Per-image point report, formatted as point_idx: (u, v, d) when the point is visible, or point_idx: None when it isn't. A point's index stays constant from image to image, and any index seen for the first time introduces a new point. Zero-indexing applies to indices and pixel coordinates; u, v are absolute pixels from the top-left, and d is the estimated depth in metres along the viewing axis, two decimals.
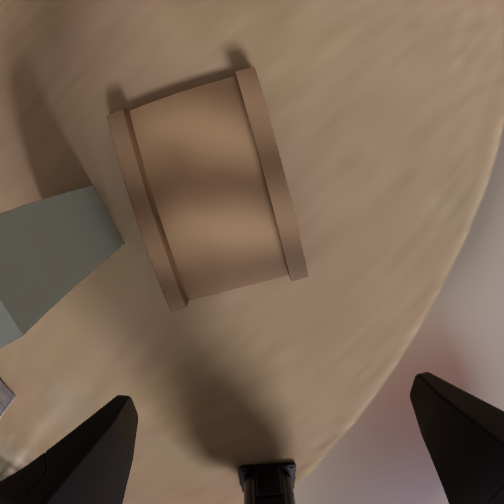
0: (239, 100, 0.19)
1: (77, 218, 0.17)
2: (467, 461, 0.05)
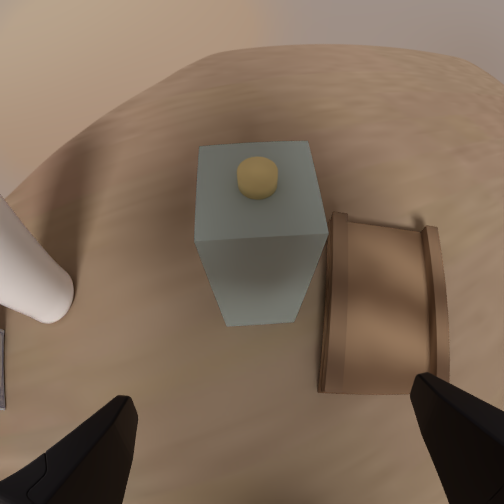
0: (420, 248, 0.25)
1: None
2: (467, 461, 0.05)
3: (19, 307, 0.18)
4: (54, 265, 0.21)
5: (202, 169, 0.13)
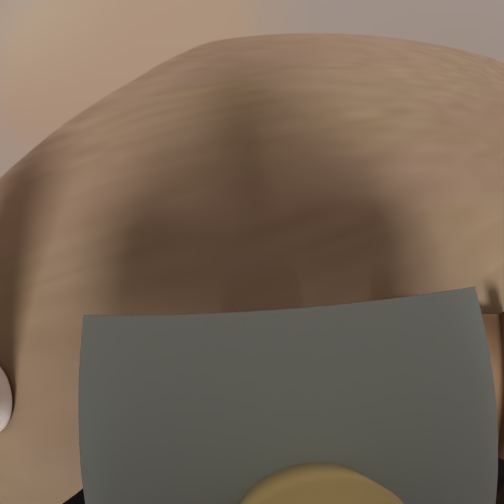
0: (499, 340, 0.14)
1: None
2: None
3: None
4: None
5: (93, 440, 0.03)
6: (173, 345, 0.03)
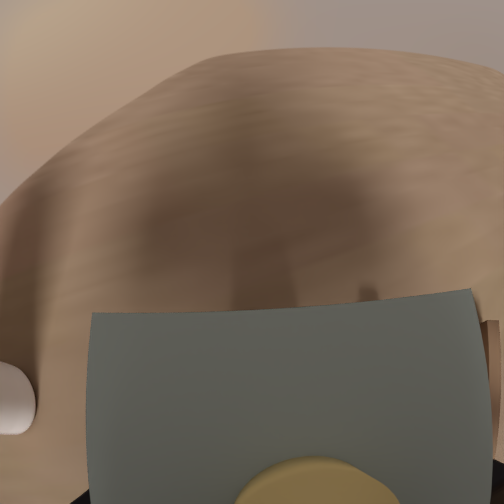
0: None
1: None
2: None
3: None
4: (3, 382, 0.13)
5: (100, 432, 0.03)
6: (178, 342, 0.03)
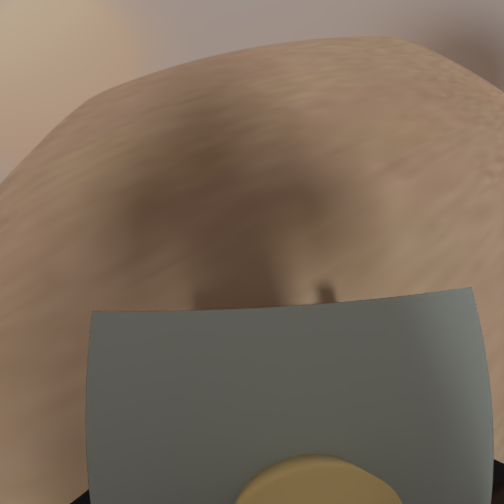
0: None
1: None
2: None
3: None
4: None
5: (100, 431, 0.03)
6: (178, 340, 0.03)
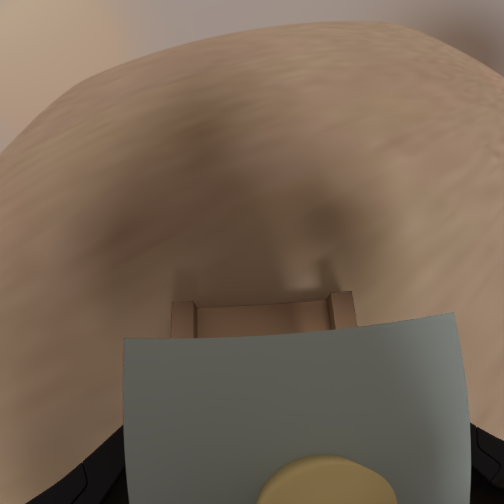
0: (326, 329, 0.17)
1: None
2: None
3: None
4: None
5: (138, 444, 0.03)
6: (206, 363, 0.04)
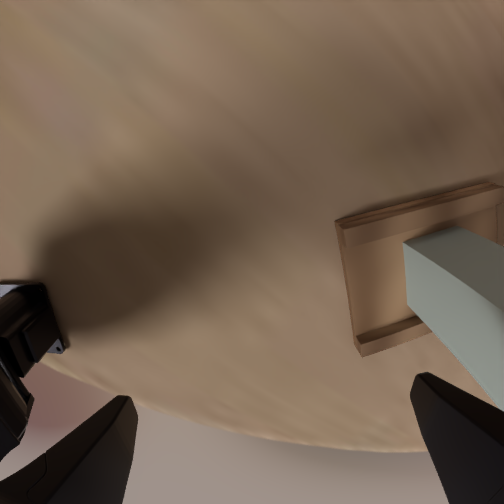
0: None
1: None
2: (467, 461, 0.05)
3: None
4: None
5: None
6: None
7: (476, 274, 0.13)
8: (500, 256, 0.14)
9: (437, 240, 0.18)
